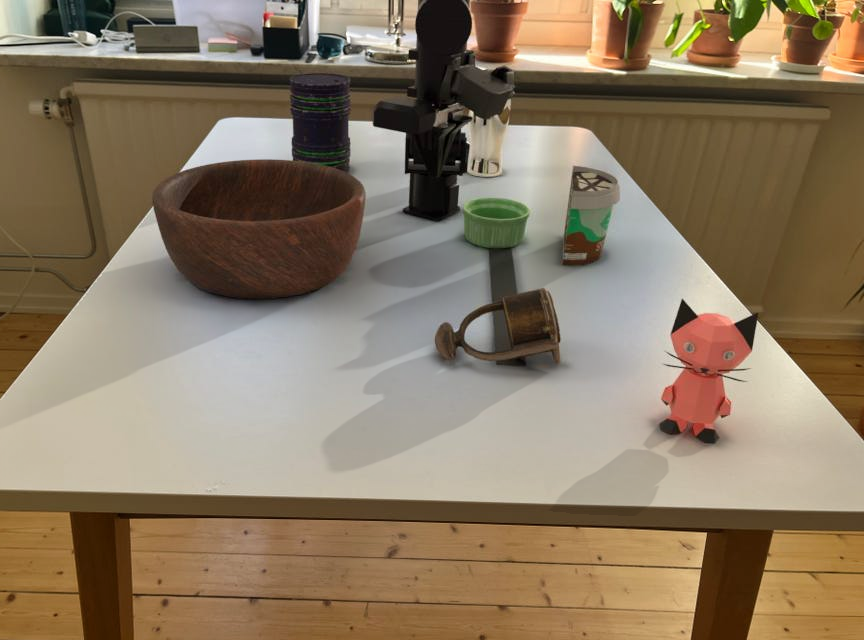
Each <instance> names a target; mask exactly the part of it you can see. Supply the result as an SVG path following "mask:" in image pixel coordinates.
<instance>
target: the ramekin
mask: <svg viewBox="0 0 864 640" xmlns="http://www.w3.org/2000/svg"><path fill="white" fill-rule="evenodd" d="M462 213H463V220H464V221H463V222H464V223H463V230H464V231H463V232H464V238H465V239H466V240H467V242H470V243H471V244H473V245H475V246H478V247H482V248H486V249H489V248H509V247H511V248H513V247H516V246H518V245H520V244H521V243H522V242H523V240H524V237H525V232H526V227H527V223H528V218H529V216H530V213H531V210H530V208H529V207H528V205H527V204H525V203H523V202H521V201H517V200H514V199H509V198H504V197H503V198H502V197H481V198H480V197H479V198H475V199H470V200H468V201H466V202H465V203H464V204H463V206H462Z"/></svg>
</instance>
